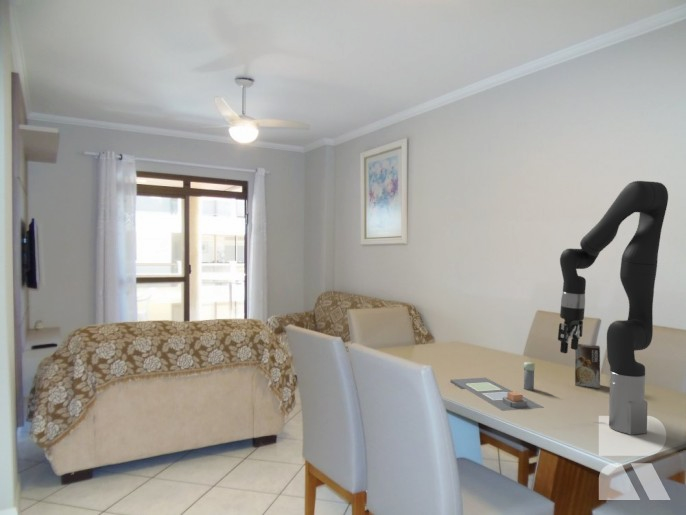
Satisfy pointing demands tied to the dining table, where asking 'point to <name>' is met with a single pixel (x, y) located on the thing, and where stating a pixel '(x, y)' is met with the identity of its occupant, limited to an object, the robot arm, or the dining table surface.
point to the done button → (514, 396)
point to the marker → (529, 375)
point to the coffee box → (587, 366)
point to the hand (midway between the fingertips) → (569, 351)
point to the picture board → (493, 393)
